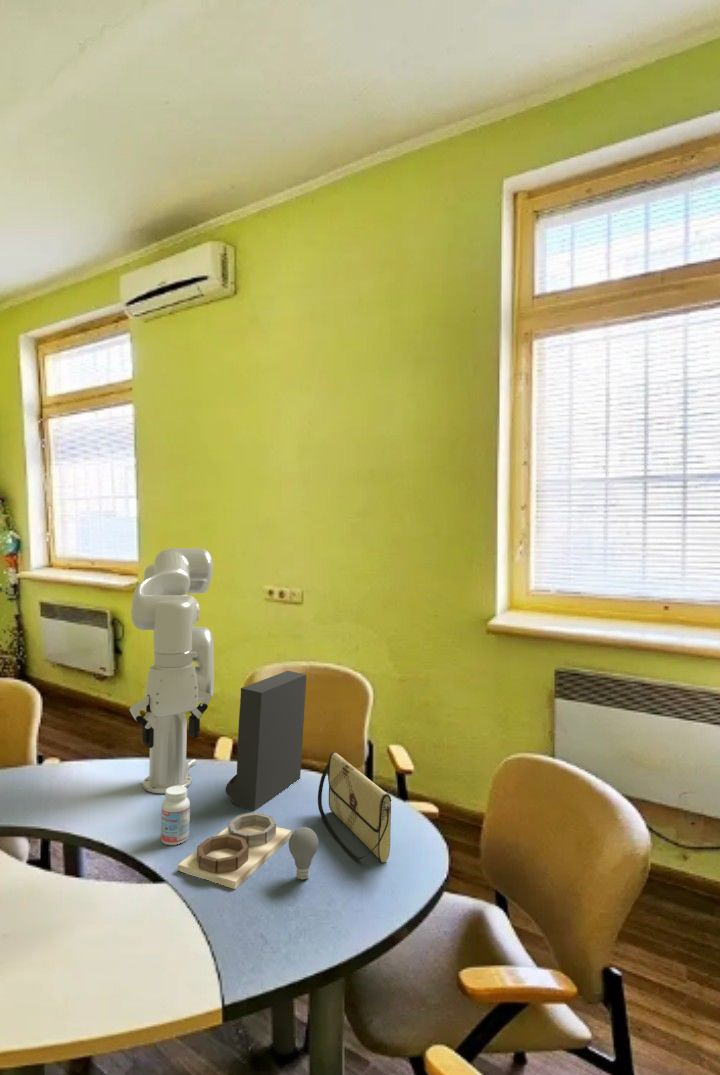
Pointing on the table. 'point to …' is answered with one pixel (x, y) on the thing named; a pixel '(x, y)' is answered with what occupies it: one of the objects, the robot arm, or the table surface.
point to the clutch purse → (357, 806)
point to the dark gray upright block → (268, 739)
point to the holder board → (236, 850)
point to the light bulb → (303, 849)
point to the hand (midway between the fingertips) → (171, 740)
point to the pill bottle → (175, 816)
